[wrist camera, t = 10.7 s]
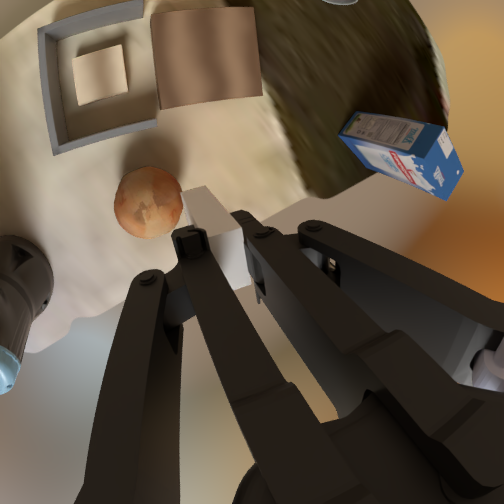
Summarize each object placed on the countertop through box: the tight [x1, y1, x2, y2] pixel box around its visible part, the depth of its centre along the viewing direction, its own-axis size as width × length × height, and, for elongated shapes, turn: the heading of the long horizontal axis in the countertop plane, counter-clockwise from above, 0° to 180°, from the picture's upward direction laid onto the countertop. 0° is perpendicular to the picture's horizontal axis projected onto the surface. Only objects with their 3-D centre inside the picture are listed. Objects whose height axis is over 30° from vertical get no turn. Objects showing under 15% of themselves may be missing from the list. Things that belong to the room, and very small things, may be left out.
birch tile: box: [72, 45, 129, 106], centre depth 31 cm, size 7×7×3 cm
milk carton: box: [338, 111, 464, 201], centre depth 43 cm, size 10×6×20 cm, turn 51°
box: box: [38, 0, 157, 156], centre depth 30 cm, size 14×18×6 cm
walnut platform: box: [150, 7, 263, 110], centre depth 35 cm, size 14×14×4 cm
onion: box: [114, 166, 183, 239], centre depth 39 cm, size 10×10×10 cm
